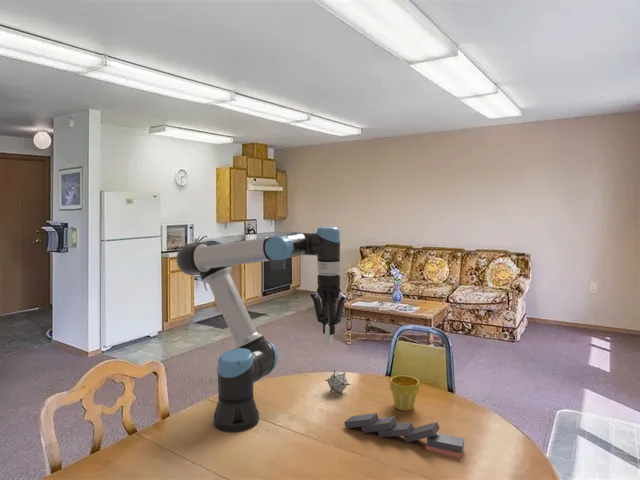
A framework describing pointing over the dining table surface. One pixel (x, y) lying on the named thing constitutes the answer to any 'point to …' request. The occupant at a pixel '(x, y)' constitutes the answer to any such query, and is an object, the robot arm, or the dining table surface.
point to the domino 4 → (422, 432)
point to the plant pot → (404, 391)
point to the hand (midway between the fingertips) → (329, 343)
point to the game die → (337, 382)
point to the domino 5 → (446, 442)
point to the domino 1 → (361, 420)
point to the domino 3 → (397, 430)
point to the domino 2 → (380, 425)
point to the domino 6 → (445, 451)
